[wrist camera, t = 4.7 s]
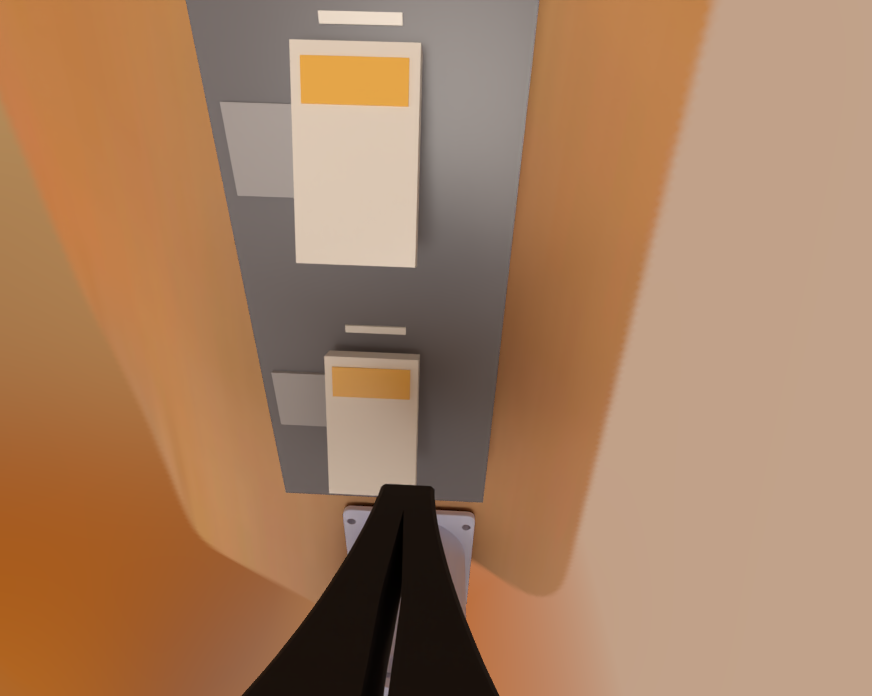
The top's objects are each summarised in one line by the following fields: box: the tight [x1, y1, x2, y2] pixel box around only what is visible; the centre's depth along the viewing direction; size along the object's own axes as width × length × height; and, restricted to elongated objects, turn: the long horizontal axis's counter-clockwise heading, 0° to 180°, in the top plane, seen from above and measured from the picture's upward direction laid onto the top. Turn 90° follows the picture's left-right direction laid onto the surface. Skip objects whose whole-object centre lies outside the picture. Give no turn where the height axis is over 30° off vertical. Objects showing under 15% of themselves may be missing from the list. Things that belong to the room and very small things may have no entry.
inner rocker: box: [324, 350, 420, 496], centre depth 18 cm, size 6×4×1 cm, turn 179°
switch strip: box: [186, 0, 539, 502], centre depth 18 cm, size 22×10×3 cm, turn 179°
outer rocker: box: [289, 39, 423, 268], centre depth 13 cm, size 6×4×1 cm, turn 179°
